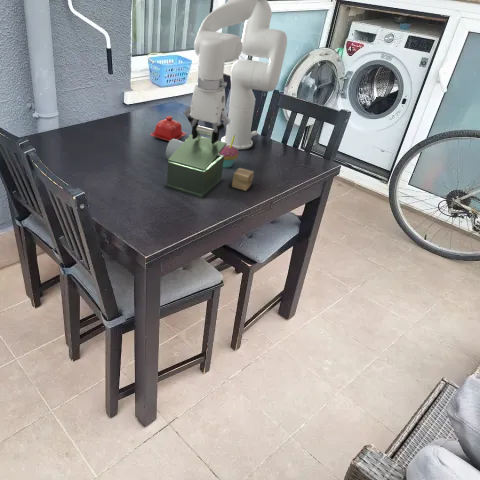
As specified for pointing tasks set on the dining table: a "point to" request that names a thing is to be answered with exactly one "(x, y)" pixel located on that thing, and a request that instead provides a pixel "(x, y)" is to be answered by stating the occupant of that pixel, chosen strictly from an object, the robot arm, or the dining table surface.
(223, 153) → the cupcake
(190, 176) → the box
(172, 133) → the butter dish
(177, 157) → the lid
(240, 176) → the block
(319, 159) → the dining table surface
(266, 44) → the robot arm
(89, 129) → the dining table surface
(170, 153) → the ceramic mug
